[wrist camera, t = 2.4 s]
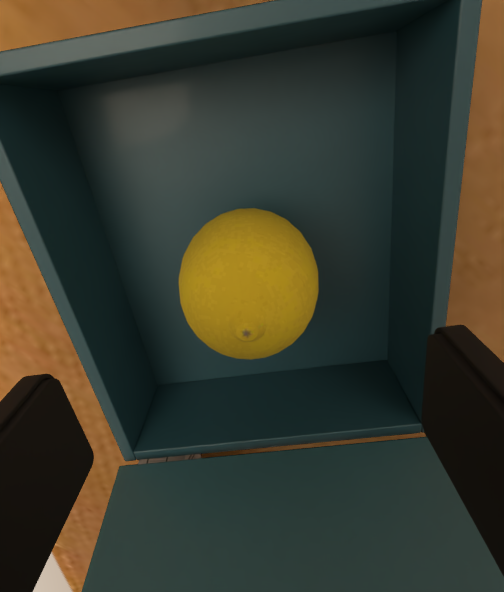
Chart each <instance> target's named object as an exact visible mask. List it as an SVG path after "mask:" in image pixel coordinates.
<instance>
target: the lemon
mask: <svg viewBox="0 0 504 592" xmlns="http://www.w3.org/2000/svg"><path fill="white" fill-rule="evenodd" d="M179 292H180V303H181V306H182V309H183V312H184V315H185V317H186V320H187V322H188V324H189V326H190V327H191V329H192V330H193V331H194V333H195V334H196V336H197V337H198V338H199V339H200V340H202V341H203V342H204V343H205V344H206V345H207V346H209V347H210V348H211V349H213V350H215V351H217V352H219V353H221V354H223V355H226V356H229V357H233V358H236V359H250V360H251V359H259V358H265V357H268V356H271V355H274V354H276V353H279V352H280V351H282V350H283V349H285V348H287V347H288V346H290V345H291V344H293V343H294V342H295V341H296V339H297V338H298V337H299V336H300V335H301V334H302V333H303V332H304V330H305V329H306V327H307V325H308V323H309V322H310V320H311V318H312V316H313V313H314V309H315V305H316V301H317V297H318V268H317V265H316V261H315V258H314V255H313V252H312V249H311V247H310V246H309V244H308V243H307V241H306V240H305V238H304V237H303V235H302V234H301V232H300V231H299V230H298V229H297V228H296V227H294V226H293V225H292V224H291V223H290V222H289V221H288V220H286V219H285V218H283V217H281V216H279V215H277V214H275V213H273V212H270V211H266V210H261V209H256V208H246V209H236V210H232V211H229V212H226V213H223V214H221V215H219V216H217V217H216V218H214V219H213V220H211V221H209V222H208V223H206V224H205V225H204V226H203V227H202V229H201V230H200V231H199V232H198V233H197V234H196V235H195V236H194V237H193V238H192V240H191V242H190V244H189V246H188V248H187V250H186V252H185V254H184V256H183V259H182V264H181V269H180V274H179Z"/></svg>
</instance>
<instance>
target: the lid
mask: <svg viewBox="0 0 504 592" xmlns="http://www.w3.org/2000/svg"><path fill="white" fill-rule="evenodd" d="M82 592H504V576H503V574H502V573H501V571H500V569H499V567H498V565H497V564H496V562H495V560H494V558H493V556H492V555H491V553H490V551H489V549H488V547H487V545H486V544H485V542H484V540H483V538H482V536H481V534H480V533H479V531H478V529H477V527H476V525H475V523H474V522H473V520H472V518H471V516H470V514H469V513H468V511H467V509H466V507H465V505H464V503H463V502H462V500H461V498H460V496H459V494H458V492H457V491H456V489H455V487H454V485H453V483H452V481H451V480H450V478H449V476H448V474H447V472H446V470H445V469H444V467H443V465H442V463H441V461H440V460H439V458H438V456H437V454H436V452H435V450H434V449H433V447H432V445H431V443H430V441H429V439H428V438H427V437H419V438H408V439H398V440H387V441H377V442H366V443H356V444H345V445H335V446H324V447H314V448H303V449H293V450H282V451H272V452H261V453H251V454H240V455H230V456H220V457H209V458H199V459H188V460H178V461H167V462H157V463H146V464H136V465H125V466H120V467H119V470H118V473H117V476H116V480H115V483H114V486H113V489H112V493H111V496H110V499H109V503H108V506H107V509H106V513H105V516H104V519H103V523H102V526H101V529H100V533H99V536H98V539H97V542H96V546H95V549H94V552H93V556H92V559H91V562H90V566H89V569H88V572H87V576H86V579H85V582H84V585H83V589H82Z"/></svg>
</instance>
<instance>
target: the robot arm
mask: <svg viewBox="0 0 504 592" xmlns="http://www.w3.org/2000/svg"><path fill="white" fill-rule="evenodd" d="M421 421H422V426H423V429H424V432H425V434H426V436H427V438H428V439H429V441H430V443H431V445H432V447H433V449H434V450H435V452H436V454H437V456H438V458H439V460H440V461H441V463H442V465H443V467H444V469H445V470H446V472H447V474H448V476H449V478H450V480H451V481H452V483H453V485H454V487H455V489H456V491H457V492H458V494H459V496H460V498H461V500H462V502H463V503H464V505H465V507H466V509H467V511H468V513H469V514H470V516H471V518H472V520H473V522H474V523H475V525H476V527H477V529H478V531H479V533H480V534H481V536H482V538H483V540H484V542H485V544H486V545H487V547H488V549H489V551H490V553H491V555H492V556H493V558H494V560H495V562H496V564H497V565H498V567H499V569H500V571H501V573H502V574H503V576H504V363H503V362H502V361H501V360H500V359H499V358H498V357H497V356H496V355H495V354H494V353H493V352H492V351H491V350H490V349H489V348H488V347H487V346H486V345H484V344H483V343H482V342H481V341H480V340H479V339H478V338H477V337H476V336H475V335H474V334H473V333H472V332H471V331H470V330H469V329H468V328H467V327H466V326H464V325H455V326H447V327H439V328H437V329H436V330H435V332H434V334H431V335H429V336H428V339H427V349H426V362H425V375H424V388H423V402H422V415H421ZM93 459H94V455H93V451H92V448H91V446H90V444H89V442H88V440H87V438H86V436H85V434H84V432H83V429H82V427H81V425H80V423H79V421H78V419H77V417H76V415H75V413H74V410H73V408H72V406H71V404H70V402H69V400H68V398H67V396H66V394H65V391H64V389H63V387H62V385H61V383H60V382H59V380H57V379H54V378H53V376H51V375H50V374H41V375H33V376H26V377H23V378H22V379H21V380H20V381H19V382H18V383H17V384H16V385H15V386H14V387H13V388H12V389H11V391H10V392H9V393H8V394H7V395H6V396H5V397H4V398H3V399H2V400H1V402H0V592H33V590H34V587H35V585H36V583H37V581H38V579H39V577H40V575H41V572H42V571H43V568H44V566H45V564H46V562H47V560H48V558H49V556H50V554H51V552H52V549H53V547H54V545H55V543H56V541H57V539H58V537H59V535H60V533H61V530H62V528H63V526H64V524H65V522H66V520H67V518H68V516H69V514H70V511H71V509H72V507H73V505H74V503H75V501H76V499H77V497H78V495H79V492H80V490H81V488H82V486H83V484H84V482H85V480H86V478H87V476H88V473H89V471H90V469H91V467H92V464H93Z"/></svg>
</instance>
